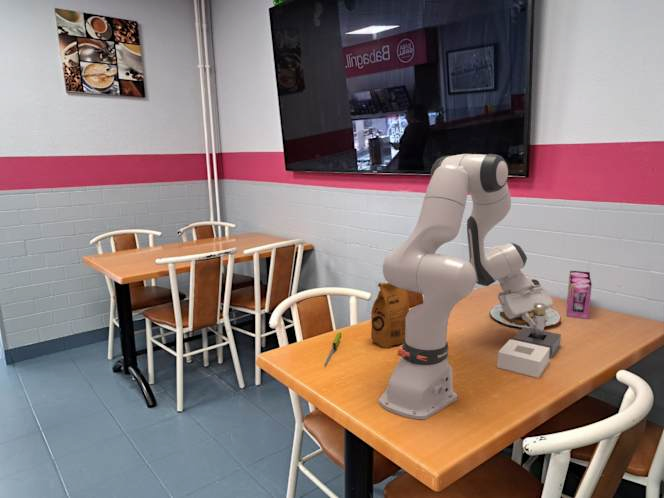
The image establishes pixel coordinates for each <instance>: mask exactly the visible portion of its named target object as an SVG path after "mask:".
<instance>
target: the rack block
mask: <svg viewBox="0 0 664 498" xmlns="http://www.w3.org/2000/svg"><path fill="white" fill-rule="evenodd" d="M549 353H550V348H548V347H544V346H539V345H535V344H530V343H525V342H521V341H516V340H513V339H509V340H507V342H506V343H505V344H504V345H503V346H502V347H501V348H500V349H499V350H498V351H497V362H496V363H497V364H496V368H499V369H501V370H502V369H503V370H506V371H510V372H514V373H517V374H521V375H525V376H528V377H529V376H530V377H533V378H537V379H539V378H541V376H542V374H543V372H545V369H546V367H548V365H549V362H550V358H549Z"/></svg>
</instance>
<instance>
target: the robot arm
mask: <svg viewBox="0 0 664 498" xmlns="http://www.w3.org/2000/svg"><path fill="white" fill-rule="evenodd" d="M508 178H509V166H508V163H507V160H506V159H504V158H503V156H501V155H498V154H493V153H488V154H481V153H479V154H478V153H477V154H476V153H473V154H472V153H462V154H456V155H449V154H448V155H445V156H440V157H439V158H437V159H436V160H435V162H434V163H433V164H432V167H431V170H430V180H429V183H428V185H427V187H426V190H425V191H426V192H425V195H424V197H423V202H422V206H421V210H420V214H419V215H418V219H417V222H416V225H415V227H414V229H413V231H412V233H411V235H409V237H408V238H407V240H406V241H404V243H402V244H401V245H400V246H399V247H398V248H396V249H394V250H392V251H391V252H389V253H388V254H387V256H386V257H384V261H383V265H382V274H383V275H382V276H383V277H384V280H385V282H386V283H389V284H391V285H393V286H395V287H398V288H400V289H403V290H406V291H409V292H413V293H419V294H423V301H422V303H420V304H417V305H415V306H413V307H412V308H409V311H408V313H407V315H406V318H405V340H404V343H403V344H402V347H401V348H398V349H397V352H396V355H397V356H398V357H400V359H399V360H398V363H397V364H396V366H395V368H394V370H393V372H392V374H391V376H390V378H389V380H388V384H387V387H386V389H385V390H384V391H383V393H381V396H380V397H379V399H378V404H379V405H380V406H381V407H382V408H383V409H385V410H387V411H389V412H391V413H394V414H397V415H399V416H403V417H405V418H409V419H415V420H427V419H428V418H430V417H432V416H433V415H435V414H437V413H438V412H440V411H441V410H443V409H444V408H445V407H447V406H449V405H450V404H452V403H453V402H455V401H457V400H458V394H457V393H456V392H455V391H454V385H453V384H454V383H453V368H452V366H451V365H450V362H449V361H448V356H449V345H448V344H449V343H448V341H447V337H448V336H447V334H448V333H447V332H448V323H449V318H450V314H451V312H452V310H453V309H454V307H455V306H456V305H457V304H458V303H459V302H460V301H461V300H464V299H465V298H467V297H468V296H469V295H471V293H472V292H473V290H474V288H475V285H476V284H477V285H480V286H484V287H489V286H491V285H492V284H494V283H496V282H497V281H498V283H499V285H500V288H501V290H502V291H500V292H499V293H498V295H497V299H498V301H499V304H501V307H502V309H503V311H504V313H505V315H506V316H507V317H508V318H509V319H512V318H516V317H520V316H521V317H522V319H523V320H525V321H526V322H527V323H529V325H530V326H529V327H534V326H536V325H537V323H536V321H535V320H532V319H531V318H530V317H529V314H531V313H533V306H534V303H542V304H545V305H546V309H548V308H550V309H551V307H553V305H554V300H553V299H552V297H551V295H550V294H549V292H548V291H547V290H546V289H545V288H544V287H543V286H542V282H541V281H540V280H539V279H534V278H531V277H527V276H526V275H525V274H524V272H522V271H521V270H522V269H523V268H524V267H525V266H526V263H527V259H528V257H527V255H526V253H525V251H524V250H523V248H522V247H521V246H520V245H518V244H516V243H513V242H509V243H505V244H504V245H502V244H498V245H494V246H492V247H490V248H489V249H488V250H487V251H486V253H485V243H484V241H485V237H486V236H487V235H488V234H489V233H490V231H491V230H492V229H493V228H494V227H495V226H497V225H498V224H499V223H500V222H502V221H503V220H504V219H505V218H506V216H507V215H508V214H509V212H510V210H511V205H512V198H511V193H510V189H509V185H508ZM468 194H470V196H471V200H472V210H471V213H470V216H469V217H468V218H467V219H466V232H467V244H468V253H469V256H468V257H469V261H468V260H465V259H462V258H459V257H457V256H454V255H448V254H447V255H446V254H440V253H436V252H437V250H438V249H439V248H440V247H441V246H443V245H444V244H446V243H449V242H451V241H453V240H455V239H456V238H457V236H458V235H459V233H460V229H461V225H462V222H463V217H464V213H465V209H466V205H467V204H466V203H467V199H468ZM547 322H548V319H547V318H546V313H545V322H544V323H547Z"/></svg>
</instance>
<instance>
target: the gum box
mask: <svg viewBox="0 0 664 498" xmlns="http://www.w3.org/2000/svg"><path fill="white" fill-rule="evenodd" d="M592 284H593V283H592V279H591V272H590V271H583V270H582V271H581V270H579V271H578V270H569V275H568V286H567V287H568V288H567V300H566V301H567V302H566V317H571V318H576V319H583V320H589V317H590V316H589V315H590V307H591V295H592Z"/></svg>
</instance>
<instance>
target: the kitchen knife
mask: <svg viewBox="0 0 664 498" xmlns="http://www.w3.org/2000/svg"><path fill="white" fill-rule="evenodd" d="M341 339H342V332H337V333H336V335H335V337H334V340H333V341H332V346H331V349H330V351H329V354H328V355H327V357H326V360H325V362H324V367H326V366H328V364H329V362H330V360H331V359H332V356H333V355H334V352H335V351H337V350H338V344H339V343H340V342H341V341H340V340H341Z"/></svg>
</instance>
